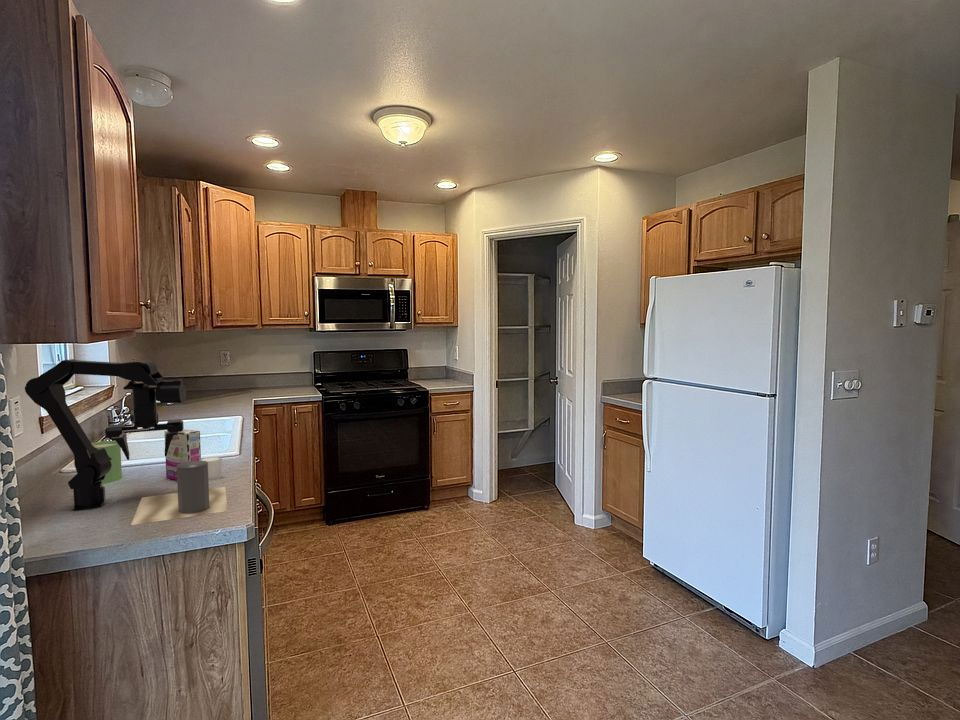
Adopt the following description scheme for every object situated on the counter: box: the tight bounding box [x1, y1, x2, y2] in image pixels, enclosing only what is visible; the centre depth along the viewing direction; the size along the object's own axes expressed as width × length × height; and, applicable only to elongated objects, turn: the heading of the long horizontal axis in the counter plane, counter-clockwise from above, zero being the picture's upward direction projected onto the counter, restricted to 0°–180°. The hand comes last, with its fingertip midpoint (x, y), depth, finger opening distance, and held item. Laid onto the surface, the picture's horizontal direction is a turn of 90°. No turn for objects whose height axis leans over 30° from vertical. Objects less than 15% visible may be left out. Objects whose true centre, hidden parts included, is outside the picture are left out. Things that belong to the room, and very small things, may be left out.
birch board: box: [130, 486, 228, 526], centre depth 149 cm, size 22×24×1 cm
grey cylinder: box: [176, 461, 210, 514], centre depth 144 cm, size 7×7×12 cm
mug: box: [91, 440, 123, 485], centre depth 174 cm, size 13×10×12 cm
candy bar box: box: [163, 429, 202, 482], centre depth 175 cm, size 11×5×16 cm, turn 68°
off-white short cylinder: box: [199, 456, 223, 481], centre depth 175 cm, size 7×7×7 cm
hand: (147, 457), depth 153 cm, fingers open, 9 cm apart
